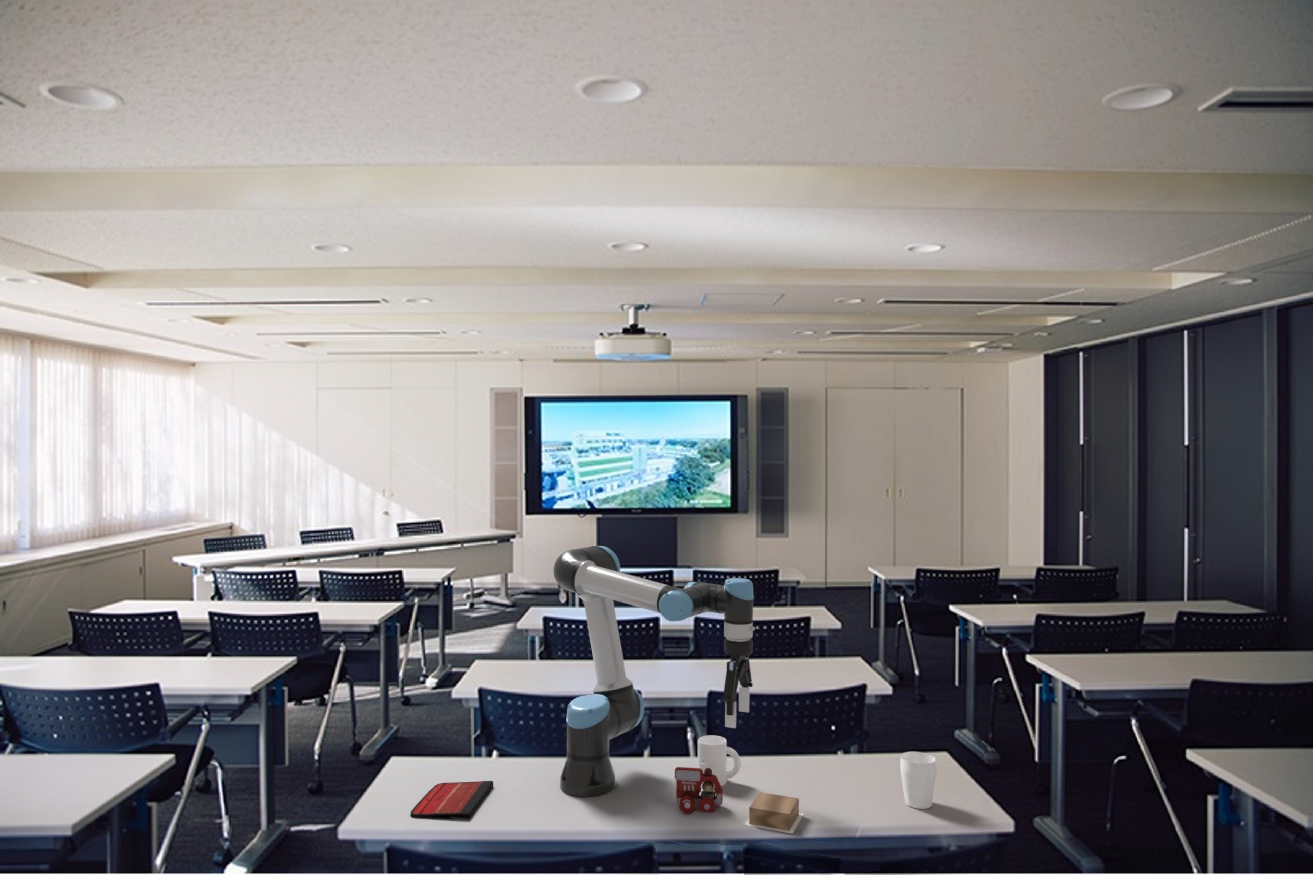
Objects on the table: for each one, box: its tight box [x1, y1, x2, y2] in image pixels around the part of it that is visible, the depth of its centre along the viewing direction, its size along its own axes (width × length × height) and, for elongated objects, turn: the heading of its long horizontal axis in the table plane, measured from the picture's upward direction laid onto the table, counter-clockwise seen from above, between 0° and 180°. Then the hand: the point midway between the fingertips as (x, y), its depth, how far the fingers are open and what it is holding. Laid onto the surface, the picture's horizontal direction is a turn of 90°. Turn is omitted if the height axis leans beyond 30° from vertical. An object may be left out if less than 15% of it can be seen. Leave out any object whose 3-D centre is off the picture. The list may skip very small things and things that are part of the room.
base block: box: [748, 791, 800, 831], centre depth 206 cm, size 10×10×4 cm
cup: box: [899, 751, 937, 810], centre depth 217 cm, size 9×9×12 cm
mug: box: [697, 734, 742, 790], centre depth 229 cm, size 8×12×12 cm
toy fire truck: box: [674, 766, 724, 814], centre depth 213 cm, size 7×12×10 cm, turn 83°
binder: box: [409, 780, 494, 821], centre depth 217 cm, size 16×2×21 cm
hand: (737, 719), depth 218 cm, fingers open, 13 cm apart
